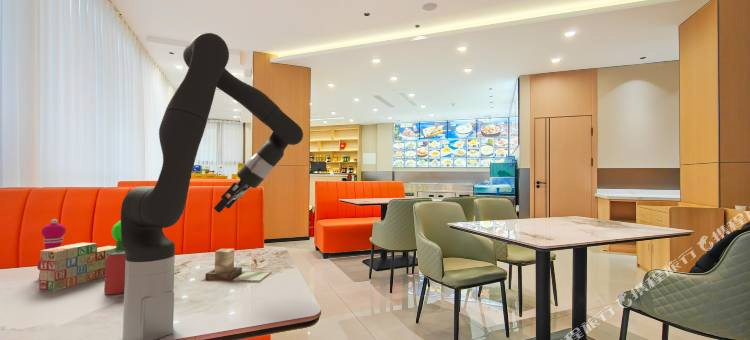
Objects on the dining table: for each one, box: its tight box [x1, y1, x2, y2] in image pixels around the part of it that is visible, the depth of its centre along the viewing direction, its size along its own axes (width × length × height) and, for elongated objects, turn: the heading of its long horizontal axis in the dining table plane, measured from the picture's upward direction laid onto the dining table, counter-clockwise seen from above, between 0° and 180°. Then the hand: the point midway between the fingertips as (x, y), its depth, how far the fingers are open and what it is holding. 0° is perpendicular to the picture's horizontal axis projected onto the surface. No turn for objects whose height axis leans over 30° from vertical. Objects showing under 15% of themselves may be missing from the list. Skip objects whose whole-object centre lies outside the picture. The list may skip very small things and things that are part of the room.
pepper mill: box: [37, 218, 67, 280], centre depth 112 cm, size 7×7×20 cm
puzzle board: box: [200, 266, 273, 284], centre depth 112 cm, size 20×12×3 cm, turn 88°
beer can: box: [103, 250, 126, 296], centre depth 99 cm, size 7×7×12 cm
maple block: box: [214, 248, 235, 273], centre depth 112 cm, size 4×4×9 cm
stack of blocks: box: [38, 242, 116, 291], centre depth 109 cm, size 21×6×12 cm, turn 169°
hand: (221, 208), depth 103 cm, fingers open, 8 cm apart
